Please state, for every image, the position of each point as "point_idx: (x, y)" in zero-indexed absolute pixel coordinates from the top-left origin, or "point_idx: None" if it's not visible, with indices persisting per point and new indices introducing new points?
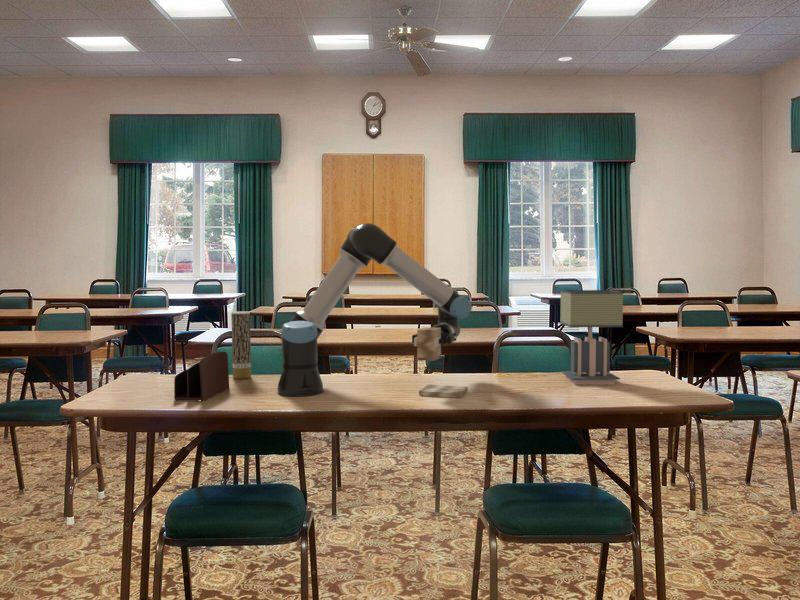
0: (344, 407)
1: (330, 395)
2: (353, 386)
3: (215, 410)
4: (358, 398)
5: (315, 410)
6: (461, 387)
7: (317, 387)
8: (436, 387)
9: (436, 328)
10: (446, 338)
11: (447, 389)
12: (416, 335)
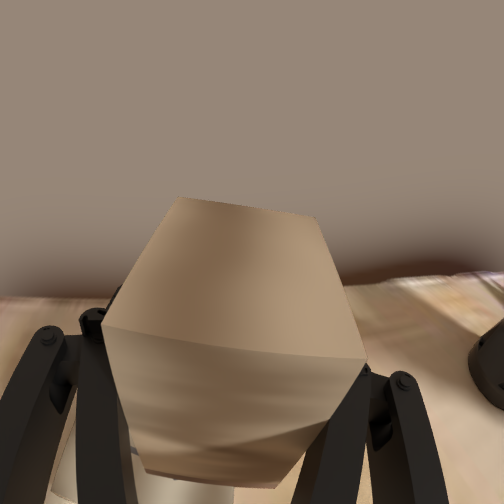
0: (356, 302)
1: (446, 371)
2: (475, 470)
3: (469, 276)
4: (381, 364)
5: (382, 285)
6: (75, 481)
7: (477, 359)
8: (179, 483)
9: (165, 259)
10: (76, 337)
11: (131, 450)
12: (394, 407)
